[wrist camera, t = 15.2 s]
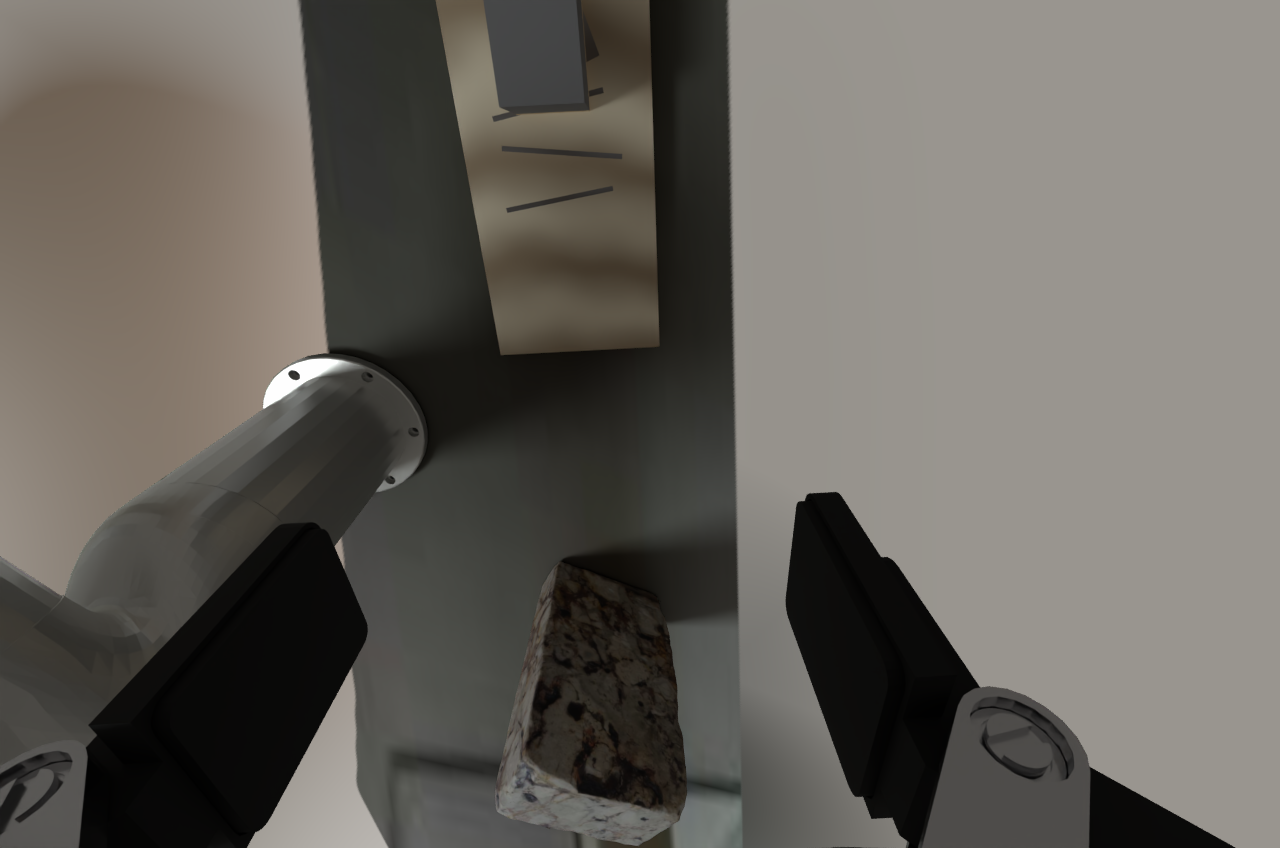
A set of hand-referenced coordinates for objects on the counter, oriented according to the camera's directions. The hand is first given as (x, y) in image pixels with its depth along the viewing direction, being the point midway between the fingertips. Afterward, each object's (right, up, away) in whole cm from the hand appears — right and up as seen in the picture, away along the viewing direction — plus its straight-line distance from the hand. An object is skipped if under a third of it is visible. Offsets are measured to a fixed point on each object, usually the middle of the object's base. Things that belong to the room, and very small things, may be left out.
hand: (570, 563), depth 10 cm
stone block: (-2, -15, +42) cm, 44 cm away
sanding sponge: (-4, +26, +19) cm, 32 cm away
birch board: (-4, +20, +24) cm, 31 cm away
